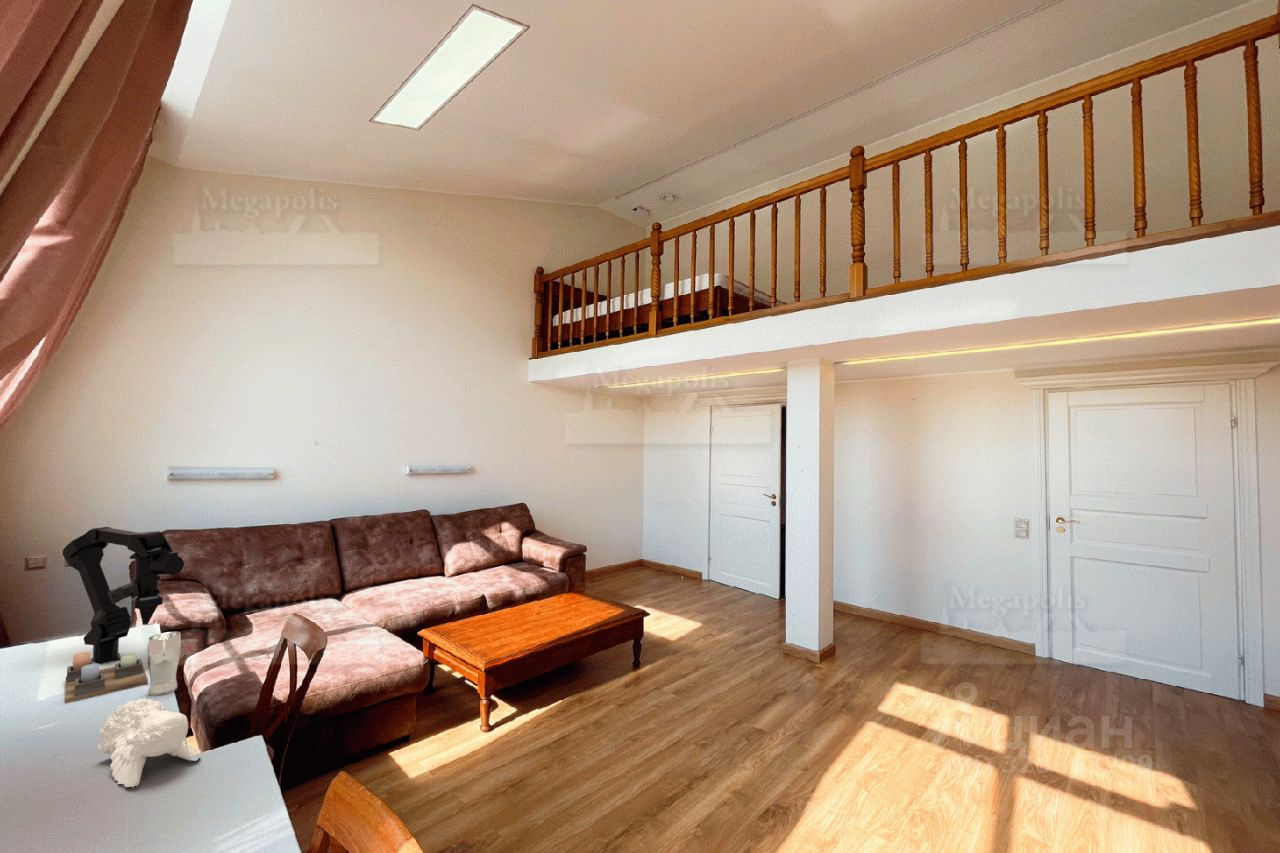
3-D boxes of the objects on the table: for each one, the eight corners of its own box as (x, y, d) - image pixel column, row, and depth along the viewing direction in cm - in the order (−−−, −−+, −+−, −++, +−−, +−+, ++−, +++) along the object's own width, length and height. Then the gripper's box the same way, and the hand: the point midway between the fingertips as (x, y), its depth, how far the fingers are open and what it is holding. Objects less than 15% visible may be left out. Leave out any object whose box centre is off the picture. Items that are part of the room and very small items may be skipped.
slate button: (80, 682, 147) (81, 665, 147) (98, 678, 149) (99, 662, 149) (80, 686, 144) (81, 669, 145) (98, 682, 147) (99, 665, 147)
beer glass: (163, 697, 145) (166, 640, 146) (138, 696, 145) (140, 639, 146) (186, 685, 152) (188, 631, 153) (161, 685, 152) (163, 631, 153)
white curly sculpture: (175, 688, 128) (210, 701, 117) (173, 744, 126) (209, 762, 116) (98, 709, 117) (130, 725, 106) (95, 771, 115) (127, 793, 105)
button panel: (65, 681, 154) (66, 666, 155) (141, 664, 166) (142, 651, 166) (64, 703, 141) (65, 687, 142) (147, 684, 153) (148, 669, 153)
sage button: (119, 671, 157) (120, 655, 157) (135, 668, 159) (136, 652, 160) (120, 675, 155) (121, 659, 155) (136, 671, 157) (137, 655, 157)
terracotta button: (72, 670, 155) (73, 654, 155) (89, 666, 157) (90, 651, 157) (72, 673, 152) (73, 657, 152) (89, 670, 155) (90, 654, 155)
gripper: (109, 572, 168) (107, 623, 168) (112, 583, 155) (110, 638, 155) (157, 567, 176) (155, 615, 176) (163, 576, 163) (162, 629, 163)
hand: (145, 624), depth 167 cm, fingers closed
